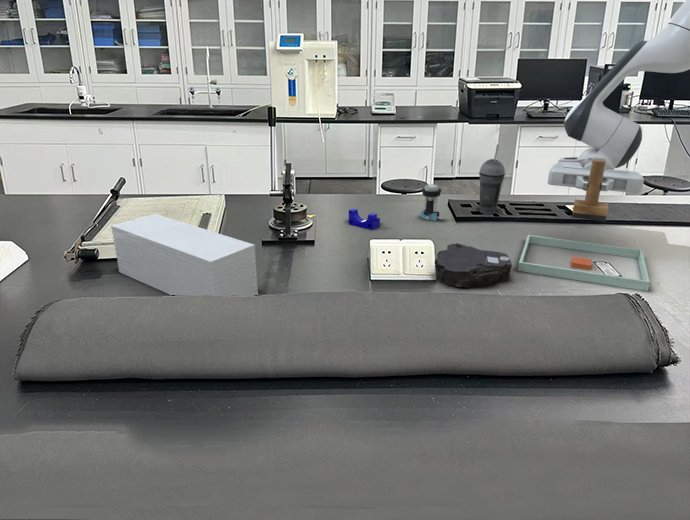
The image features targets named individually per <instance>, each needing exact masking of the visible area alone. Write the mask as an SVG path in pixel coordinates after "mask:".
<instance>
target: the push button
mask: <svg viewBox="0 0 690 520" xmlns="http://www.w3.org/2000/svg"><path fill="white" fill-rule="evenodd" d="M441 193H442V188H439V185H438V184H431V183H429V184H425V185H424V187H422V188H421V194H422V195H423V196H424V202H423V203H424V204H423V208H422V209H423V210H421V211H420V218H421V219H425V220H426V221H435V222H436V221H439V220H440V219H441V220H443V219H444V217H441V216H440V212H439V211H438V197H440V196H441Z"/></svg>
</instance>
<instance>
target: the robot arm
mask: <svg viewBox="0 0 690 520" xmlns="http://www.w3.org/2000/svg"><path fill="white" fill-rule="evenodd" d="M689 70H690V0H685V1H684V2H683V3H682V4H681V5H680V6H679V7H678V9H677V10H676V11H675V13H674V14H673V15H672V17H671V18H670V19H669V21H668V22H667V24H666V25H665V26H664V28H662V30H661V31H660V32H659V33H657V34H656V35H655V36H654V37H652V38H650V39H648V40H640V41H638V42H637V43H635V44H634V45H633V46H632V47H631V48H629V50H628V51H627V52H626V53H625V54H624V55H623V56H622V57H621V58H620V59H619V60H618V61H617V62H616V63H615V64H614V65H613V66H612V67H611V68H610V69H609V70H608V72H607V73H605V75H604V76H603V77H602V78H601V79H600V80H599V81H598V82H597V83H596V84H595V86H593V88H592V89H591V90H590V91H589V92H588V94H587V95H585V97H583V98H582V99H581V100H579V101H578V102H577V103H575V104H574V105H573V107H572V108H570V110H569V111H568V112H567V114H566V116H565V119H564V121H563V126H564V130H565V133H566V135H567V137H569V138H571V139H574V140H575V141H578V142H582V143H583V144H585V145H587V146H589V148H586V149H584V151H583V152H582V153H581V154H580V155H579V156H574V157H573V156H571V157H570V156H569V157H559V158H558V160H557V162H555V163H553V164H552V166H551V167H550V168H549V171H548V177H547V184H548V185H550V186H558V187H567V188H568V187H569V188H575V189H579V190H582V191H585V192H586V191H587V187H588V180H589V175H590V169H591V164H592V160H593V159H603V160H606V164H605V169H604V174H603V180H602V184H601V189H600V192H608V191H611V192H618V193H619V192H621V193H622V192H623V193H629V194H630V193H631V194H640V193H642V190H643V188H644V183H645V182H644V181H645V178H644V176H643V174H641V173H640V172H637V171H632V170H623V169H622V170H620V169H618V168H621V167H623V166H625V165H626V164H628V162H630V160H632V158H633V157H634V155H635V154H636V153H637V152H638V149H639V148H640V146H641V143H642V140H643V131H642V130H643V129H642V126H641V124H639V123H638V122H635V121H633V120H631V119H630V118H628V117H626V116H624V115H621V114H619V113H618V112H616V111H613V110H612V109H610V108H608V107H606V106H605V104H604V100H606V99H607V98H608V96H610V94H611V93H612V92H613V91H614V90H615V89H616V88H617V87H618V86H619V85H620V84H621V83H622V82H623V81H624V80H625V79H626V78H627V77H628V76H631V74H632V75H633V74H634V73H638V72H652V73H654V72H655V73H662V74H663V73H664V74H677V73H683V72H686V71H689Z"/></svg>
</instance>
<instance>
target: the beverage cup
mask: <svg viewBox="0 0 690 520" xmlns="http://www.w3.org/2000/svg"><path fill="white" fill-rule="evenodd" d="M498 151H499V143H498V144H496V147H495V153H494V157H493V158H490V159H488V160H486V161H484V162H483V163H482V164H481V166H480V169H479V171H478V174H479V213H481V214H484V215H494V214H496V211H497V208H498V204H499V199H500V195H501V189H502V185H503V182H504V179H505V176H506V170H505V167H504V164H503V163H502V162H501V161H500V160H498V159H497V157H498Z"/></svg>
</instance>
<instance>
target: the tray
mask: <svg viewBox="0 0 690 520" xmlns="http://www.w3.org/2000/svg"><path fill="white" fill-rule="evenodd" d="M524 242H525V243H524V245H523V249H522V251H521V254H520V258H519V261H518V265H517V272H524V273H530V274H536V275H543V276H550V277H555V278H561V279H569V280H575V281H582V282H587V283H592V284H600V285H606V286H612V287H613V286H614V287H619V288H626V289H631V290H632V289H633V290H637V291H638V290H639V291H646V292H648V291H649V288H650V284H651V281H650V280H651V279H650V276H649V271H648V268H647V264H646V260H645V259H646V258H645V254H644V252H643V251H644V250H643V249H639V248H632V247H624V246H616V245H609V244H602V243H601V244H600V243H593V242H586V241H577V240H570V239H563V238H557V237H556V238H555V237H548V236H541V235H534V234H533V235H532V234H528V235H527V237H526V239H525V241H524ZM531 244H533V245H540V246H547V247H554V248H561V249H567V250H568V249H570V250H575V251H582V252H590V253H597V254H606V255H612V256H620V257H626V258H635V259H637V260H638V267H639V269H640V275H641V279H639V278H632V277H624V276H618V275H613V274H612V275H611V274H605V273H599V272H598V273H597V272H592V271H586V270H580V269H579V270H578V269H573V268H572V269H571V268H566V267H558V266H551V265H546V264H545V265H544V264H539V263H532V262H525V259H526V254H527V251H528V248H529V245H531Z"/></svg>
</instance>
